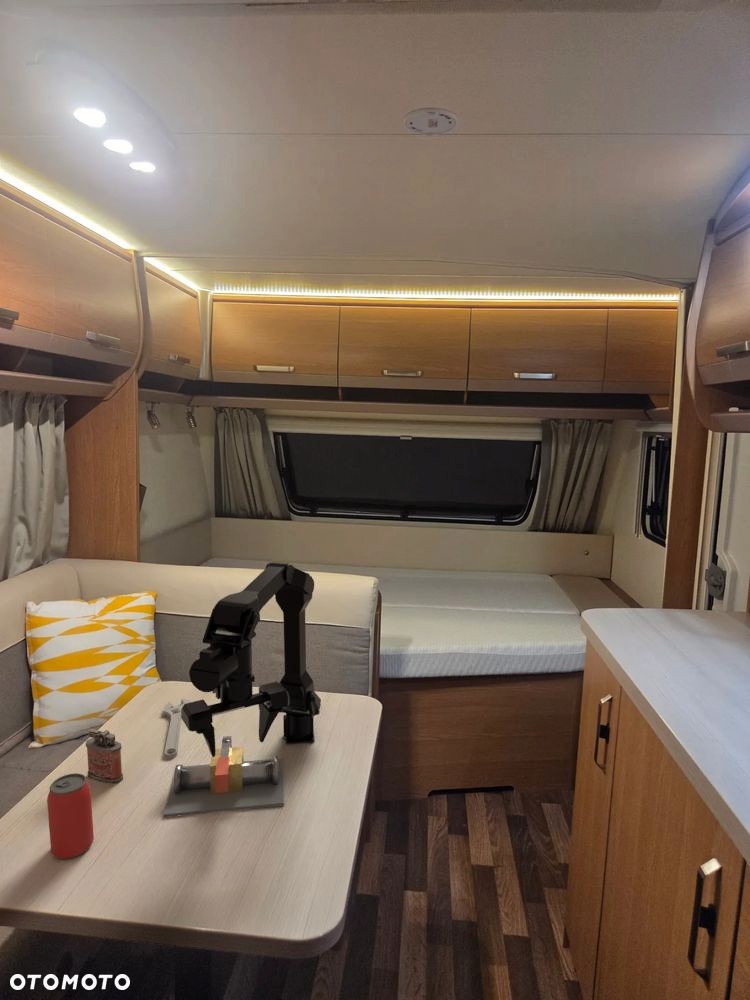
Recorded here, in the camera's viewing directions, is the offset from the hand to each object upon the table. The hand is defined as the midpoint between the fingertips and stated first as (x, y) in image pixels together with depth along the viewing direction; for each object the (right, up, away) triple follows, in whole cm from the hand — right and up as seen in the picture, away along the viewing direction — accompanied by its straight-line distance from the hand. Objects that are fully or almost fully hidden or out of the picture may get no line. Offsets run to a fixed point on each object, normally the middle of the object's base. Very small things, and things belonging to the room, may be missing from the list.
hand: (237, 748), depth 109 cm
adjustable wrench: (-23, -9, +31) cm, 39 cm away
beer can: (-27, -14, -8) cm, 31 cm away
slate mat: (-4, -12, +9) cm, 15 cm away
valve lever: (-3, -6, +3) cm, 7 cm away
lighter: (-30, -11, +12) cm, 34 cm away
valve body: (-4, -12, +9) cm, 15 cm away
